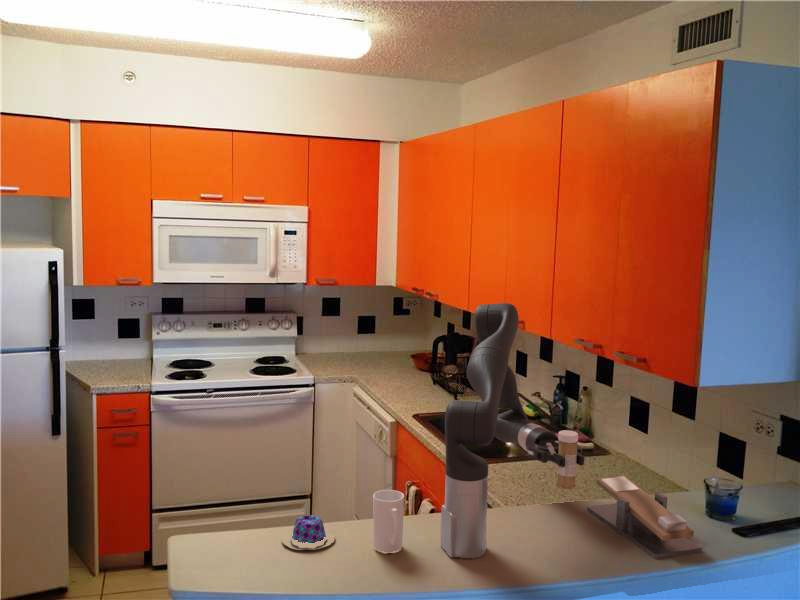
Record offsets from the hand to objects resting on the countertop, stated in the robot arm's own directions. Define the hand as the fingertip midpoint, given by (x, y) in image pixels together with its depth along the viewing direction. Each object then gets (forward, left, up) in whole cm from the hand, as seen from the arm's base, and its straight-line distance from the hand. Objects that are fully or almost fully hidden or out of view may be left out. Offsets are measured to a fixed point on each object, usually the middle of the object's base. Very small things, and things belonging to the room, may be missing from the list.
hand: (573, 462), depth 169 cm
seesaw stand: (+15, -6, -16) cm, 23 cm away
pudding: (-61, +10, -16) cm, 64 cm away
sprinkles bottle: (0, +3, -7) cm, 8 cm away
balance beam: (+15, -6, -10) cm, 19 cm away
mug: (-45, 0, -16) cm, 48 cm away
